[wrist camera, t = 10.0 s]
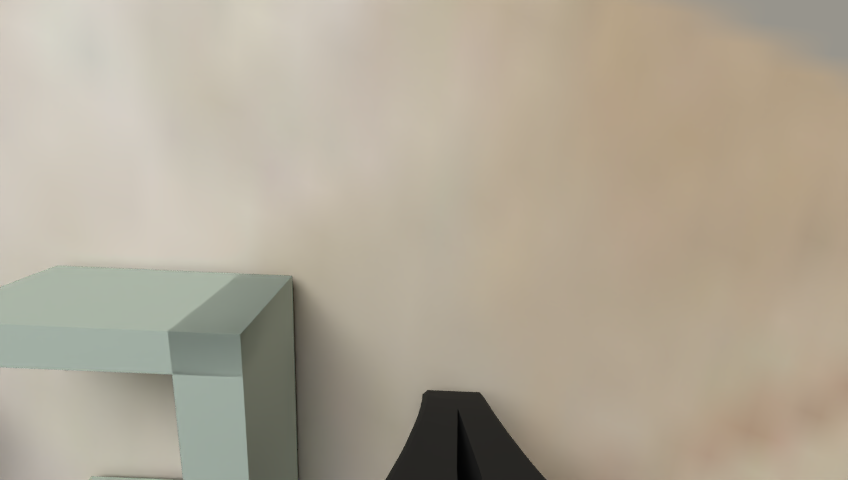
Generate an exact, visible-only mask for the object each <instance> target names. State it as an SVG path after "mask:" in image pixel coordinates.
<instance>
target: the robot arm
mask: <svg viewBox="0 0 848 480" xmlns="http://www.w3.org/2000/svg"><path fill="white" fill-rule="evenodd" d="M386 480H546V479H545V478H544V477H543V476H542V474H541V473H540V472H539V471H538V470H537V469H536V468H535V466H534V465H533V464H532V463H531V462H530V460H529V459H528V458H527V457H526V455H525V454H524V453H523V452H522V450H521V449H520V448H519V446H518V445H517V444H516V443H515V441H514V440H513V439H512V437H511V436H510V435H509V433H508V432H507V431H506V429H505V428H504V427H503V425H502V424H501V422H500V421H499V419H498V418H497V417H496V415H495V414H494V412H493V411H492V409H491V408H490V406H489V405H488V403H487V402H486V400H485V398H484V397H483V396H482V395H481V394H480V392H457V391H434V390H427V391H426V392H425V393H424V394H423V397H422V403H421V407H420V411H419V414H418V417H417V419H416V422H415V424H414V427H413V429H412V431H411V433H410V435H409V438H408V440H407V442H406V444H405V446H404V448H403V450H402V452H401V454H400V456H399V457H398V459H397V461H396V463H395V464H394V466H393V468H392V470H391V471H390V473H389V475H388V477H387V478H386Z"/></svg>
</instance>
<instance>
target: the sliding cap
mask: <svg viewBox="0 0 848 480" xmlns="http://www.w3.org/2000/svg"><path fill="white" fill-rule="evenodd" d="M0 367H6V368H30V369H54V370H78V371H102V372H126V373H150V374H172V378H173V388H174V398H175V407H176V417H177V427H178V436H179V446H180V456H181V465H182V475H183V480H298V469H297V433H296V397H295V360H294V324H293V288H292V276H282V275H259V274H237V273H214V272H192V271H169V270H147V269H124V268H102V267H79V266H55V267H52V268H49V269H47V270H44V271H41V272H39V273H36V274H33V275H31V276H28V277H26V278H23V279H20V280H18V281H15V282H12V283H10V284H7V285H4V286H2V287H0ZM89 480H171V479H145V478H120V477H94V476H92V477H91V478H90V479H89Z"/></svg>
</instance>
